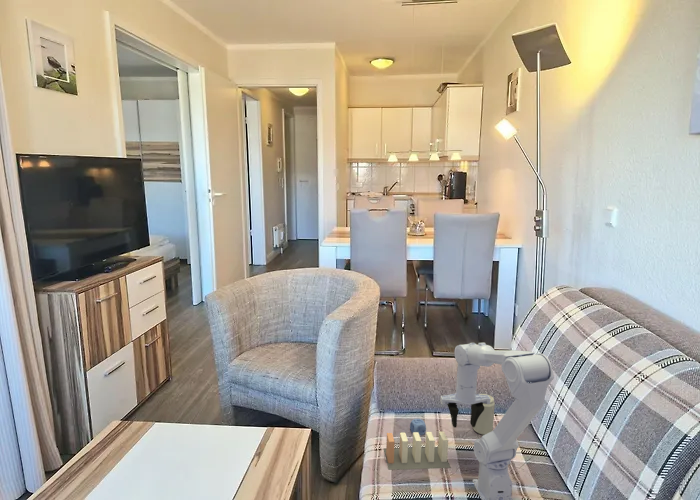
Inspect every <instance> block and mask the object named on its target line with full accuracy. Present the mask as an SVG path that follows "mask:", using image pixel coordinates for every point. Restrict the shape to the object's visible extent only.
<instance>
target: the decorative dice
mask: <svg viewBox="0 0 700 500" xmlns="http://www.w3.org/2000/svg"><path fill="white" fill-rule="evenodd" d="M409 428H410V432H411V433H412V434H413V432H418V433H419V436H424V435H425V434H426V432H427V426H426V423H425V421H424V420H423V419H421V418H414V419H412V420H411V421H410V423H409Z"/></svg>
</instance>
